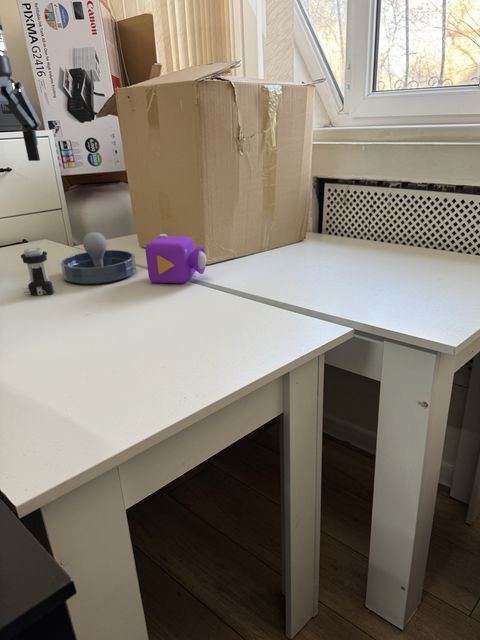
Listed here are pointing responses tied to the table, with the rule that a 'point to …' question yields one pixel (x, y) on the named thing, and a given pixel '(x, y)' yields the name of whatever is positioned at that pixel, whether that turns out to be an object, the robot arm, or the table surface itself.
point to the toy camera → (174, 259)
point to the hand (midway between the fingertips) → (12, 163)
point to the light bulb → (95, 247)
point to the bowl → (85, 272)
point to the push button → (37, 272)
